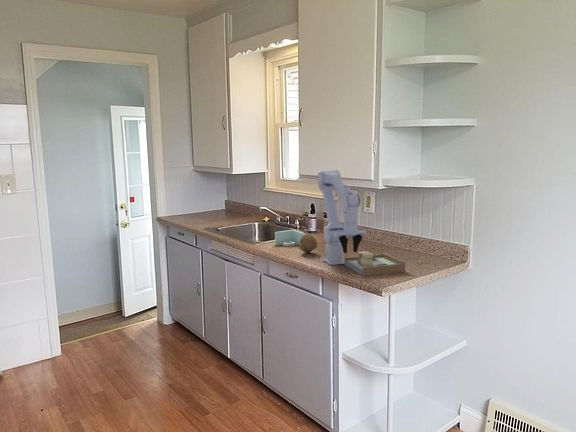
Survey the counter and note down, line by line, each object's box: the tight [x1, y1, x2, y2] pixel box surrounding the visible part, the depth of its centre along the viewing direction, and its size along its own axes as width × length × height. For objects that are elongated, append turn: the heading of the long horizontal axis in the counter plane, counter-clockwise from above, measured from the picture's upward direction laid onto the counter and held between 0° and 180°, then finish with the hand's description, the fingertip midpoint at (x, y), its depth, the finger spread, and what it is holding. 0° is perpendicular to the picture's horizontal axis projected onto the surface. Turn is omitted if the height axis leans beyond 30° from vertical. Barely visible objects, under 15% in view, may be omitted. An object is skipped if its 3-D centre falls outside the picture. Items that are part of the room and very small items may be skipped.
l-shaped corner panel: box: [274, 229, 306, 248], centre depth 256 cm, size 12×12×8 cm
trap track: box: [343, 252, 406, 277], centre depth 210 cm, size 19×20×4 cm
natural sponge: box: [298, 233, 318, 254], centre depth 239 cm, size 9×9×10 cm
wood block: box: [357, 250, 374, 266], centre depth 208 cm, size 5×5×5 cm
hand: (350, 252), depth 206 cm, fingers open, 4 cm apart
